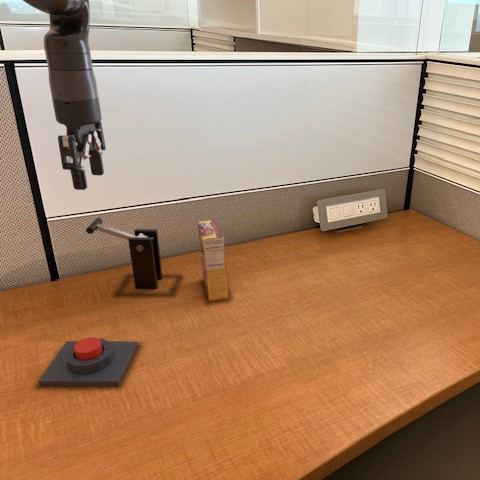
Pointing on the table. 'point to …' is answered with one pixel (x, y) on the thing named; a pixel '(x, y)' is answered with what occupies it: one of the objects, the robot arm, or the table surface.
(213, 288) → the candy box
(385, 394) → the table surface
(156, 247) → the bracket
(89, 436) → the table surface
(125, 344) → the control block
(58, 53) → the robot arm
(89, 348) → the button
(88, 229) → the lever
